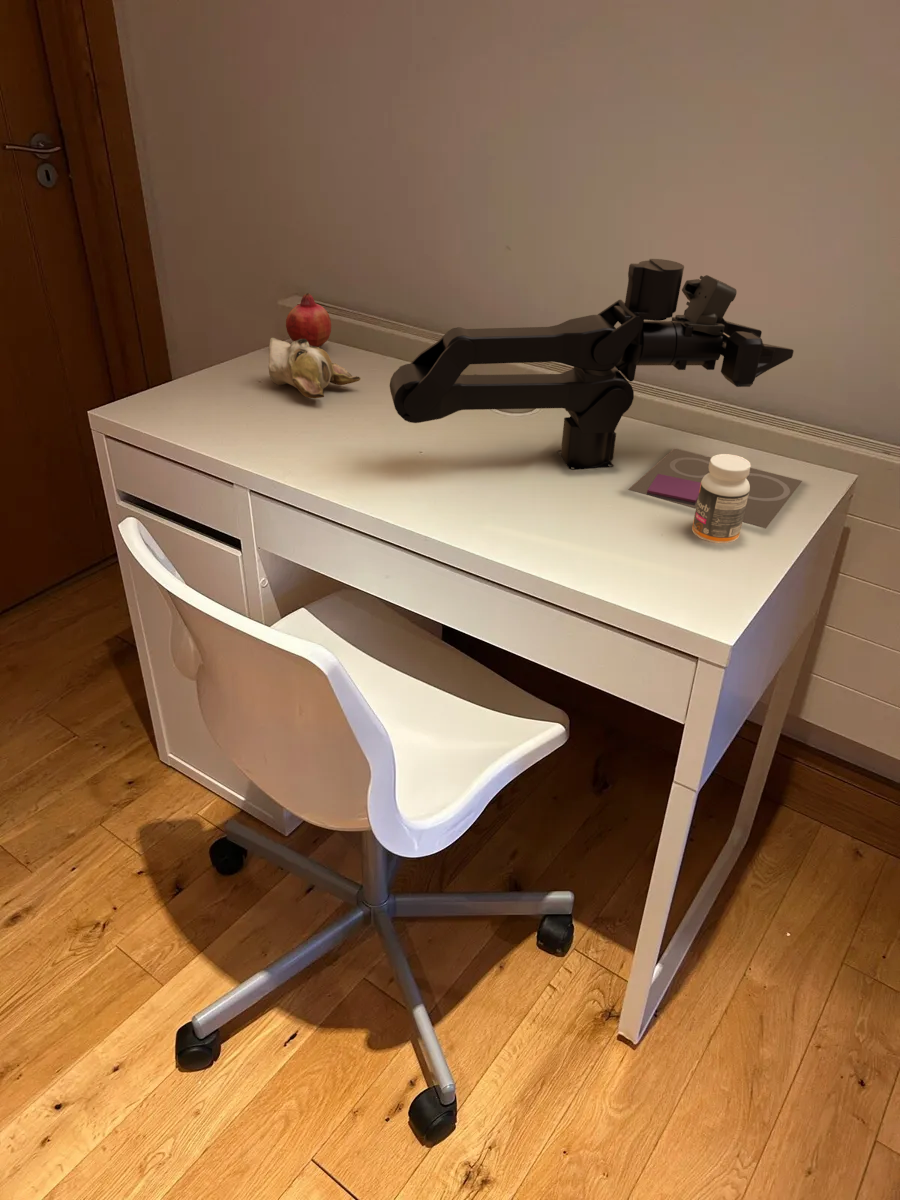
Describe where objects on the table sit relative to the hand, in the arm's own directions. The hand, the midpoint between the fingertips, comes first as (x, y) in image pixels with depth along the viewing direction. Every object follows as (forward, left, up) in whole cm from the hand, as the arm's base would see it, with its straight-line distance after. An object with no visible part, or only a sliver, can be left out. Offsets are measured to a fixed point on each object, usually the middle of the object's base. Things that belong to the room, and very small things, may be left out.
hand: (776, 343), depth 127 cm
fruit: (-59, +56, -16) cm, 83 cm away
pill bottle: (-16, -22, -16) cm, 32 cm away
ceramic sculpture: (-61, +35, -16) cm, 72 cm away
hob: (-10, -10, -16) cm, 22 cm away
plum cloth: (-16, -10, -16) cm, 25 cm away
